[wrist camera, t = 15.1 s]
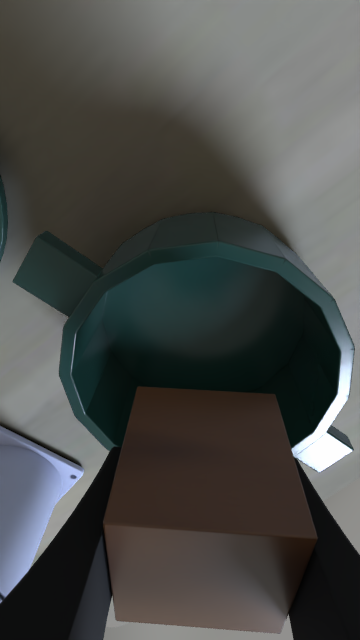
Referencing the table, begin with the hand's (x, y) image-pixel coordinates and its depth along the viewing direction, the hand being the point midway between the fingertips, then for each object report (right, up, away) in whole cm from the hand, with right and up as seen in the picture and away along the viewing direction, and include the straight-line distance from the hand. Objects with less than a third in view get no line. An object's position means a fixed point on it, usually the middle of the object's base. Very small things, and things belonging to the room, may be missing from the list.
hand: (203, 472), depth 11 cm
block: (0, +1, +1) cm, 1 cm away
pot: (+1, +5, +9) cm, 10 cm away
